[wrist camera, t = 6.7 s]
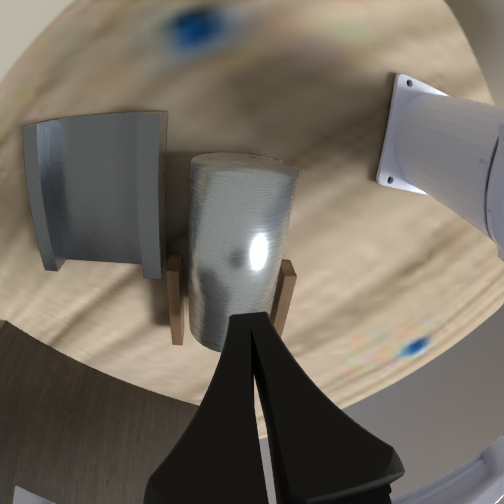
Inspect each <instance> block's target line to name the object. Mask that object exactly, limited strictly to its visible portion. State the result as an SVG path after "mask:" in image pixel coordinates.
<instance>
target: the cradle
mask: <svg viewBox="0 0 504 504" xmlns="http://www.w3.org/2000/svg"><path fill="white" fill-rule="evenodd" d="M167 123H168V111H151V112H123V113H108V114H96V115H86V116H77V117H69V118H62V119H55V120H49V121H43V122H39V123H35V124H31V125H28V126H24V127H23V148H24V161H25V172H26V180H27V188H28V195H29V201H30V207H31V213H32V218H33V223H34V228H35V233H36V237H37V241H38V246H39V250H40V254H41V257H42V261H43V265H44V268H45V270H49V271H58V270H59V269H60V268H61V266H62V265H63V263H64V262H65V261H66V259H72V260H86V261H101V262H116V263H133V264H142V269H143V278H150V279H162V276H163V272H164V268H165V264H166V261H167V260H166V232H165V168H166V140H167Z"/></svg>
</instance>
